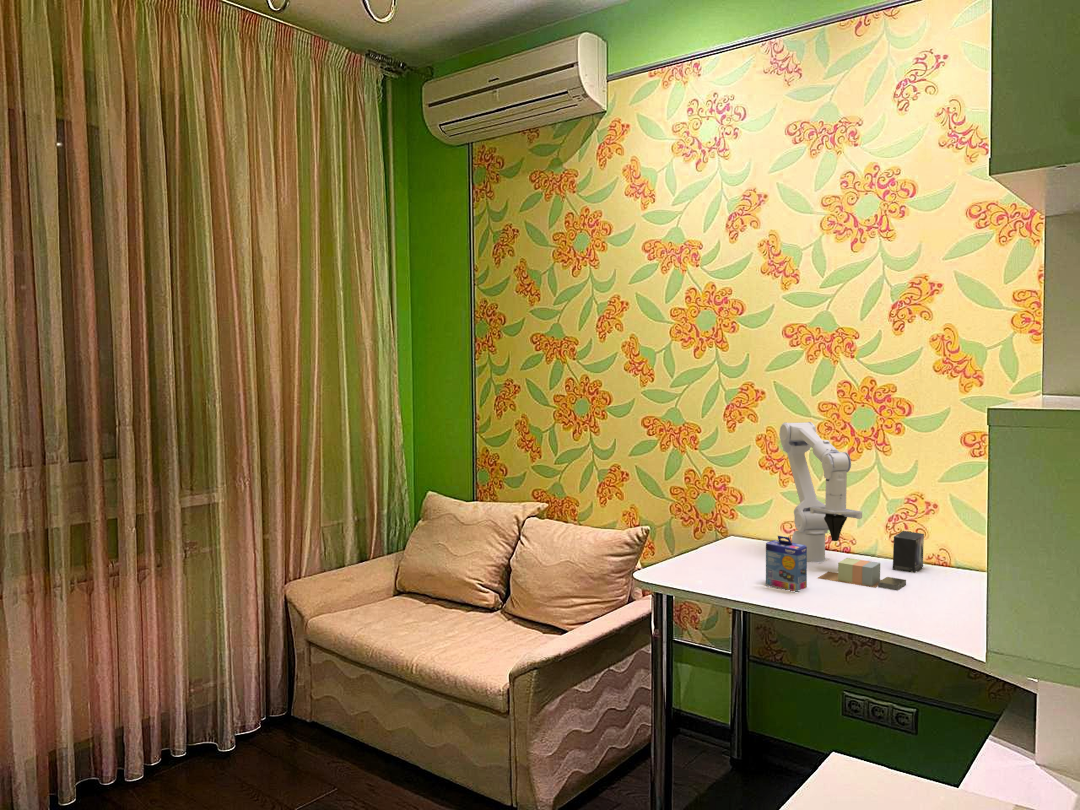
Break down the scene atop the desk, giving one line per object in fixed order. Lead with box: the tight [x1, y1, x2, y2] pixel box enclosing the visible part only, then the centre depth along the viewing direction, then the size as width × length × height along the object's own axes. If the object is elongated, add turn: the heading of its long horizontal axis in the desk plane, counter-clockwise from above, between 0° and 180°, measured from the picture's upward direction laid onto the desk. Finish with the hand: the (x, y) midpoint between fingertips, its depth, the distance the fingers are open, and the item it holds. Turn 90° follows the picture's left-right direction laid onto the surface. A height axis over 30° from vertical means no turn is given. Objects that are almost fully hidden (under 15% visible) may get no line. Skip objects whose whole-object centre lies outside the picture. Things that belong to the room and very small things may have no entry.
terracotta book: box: [852, 559, 871, 584], centre depth 230 cm, size 3×7×5 cm, turn 140°
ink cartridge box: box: [765, 535, 808, 593], centre depth 226 cm, size 10×6×14 cm, turn 45°
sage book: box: [837, 557, 861, 583], centre depth 232 cm, size 4×7×5 cm, turn 140°
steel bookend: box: [877, 576, 907, 591], centre depth 225 cm, size 2×7×5 cm
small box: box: [891, 530, 925, 574], centre depth 244 cm, size 11×6×10 cm, turn 143°
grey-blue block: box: [862, 561, 881, 586], centre depth 229 cm, size 3×7×5 cm, turn 141°
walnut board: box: [817, 571, 882, 589], centre depth 232 cm, size 16×9×1 cm, turn 51°
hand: (835, 540), depth 241 cm, fingers closed
